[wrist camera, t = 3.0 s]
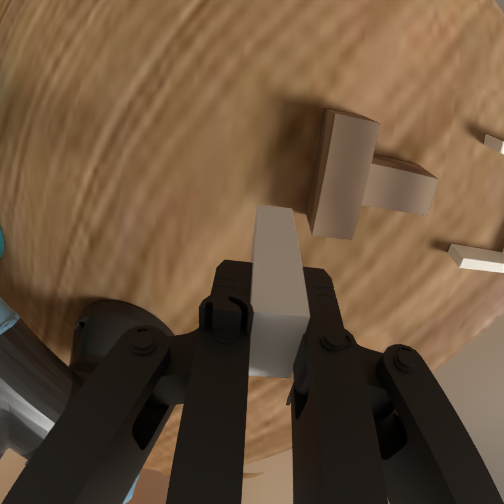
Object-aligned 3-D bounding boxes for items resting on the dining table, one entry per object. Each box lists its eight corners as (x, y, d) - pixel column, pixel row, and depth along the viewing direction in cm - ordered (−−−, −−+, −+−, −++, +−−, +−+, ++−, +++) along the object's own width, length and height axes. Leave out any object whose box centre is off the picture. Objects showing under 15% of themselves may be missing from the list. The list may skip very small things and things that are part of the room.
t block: (306, 214, 29) (312, 235, 25) (324, 108, 23) (335, 113, 20) (400, 227, 29) (415, 248, 25) (426, 132, 24) (448, 143, 20)
